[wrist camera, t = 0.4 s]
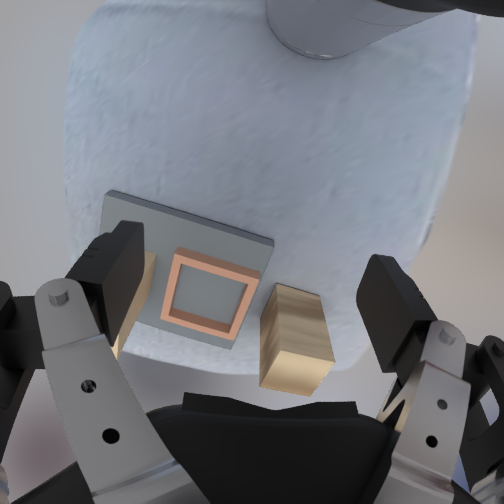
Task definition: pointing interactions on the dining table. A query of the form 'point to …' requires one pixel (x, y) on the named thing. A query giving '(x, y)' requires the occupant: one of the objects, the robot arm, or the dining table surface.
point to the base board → (189, 272)
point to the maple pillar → (294, 342)
